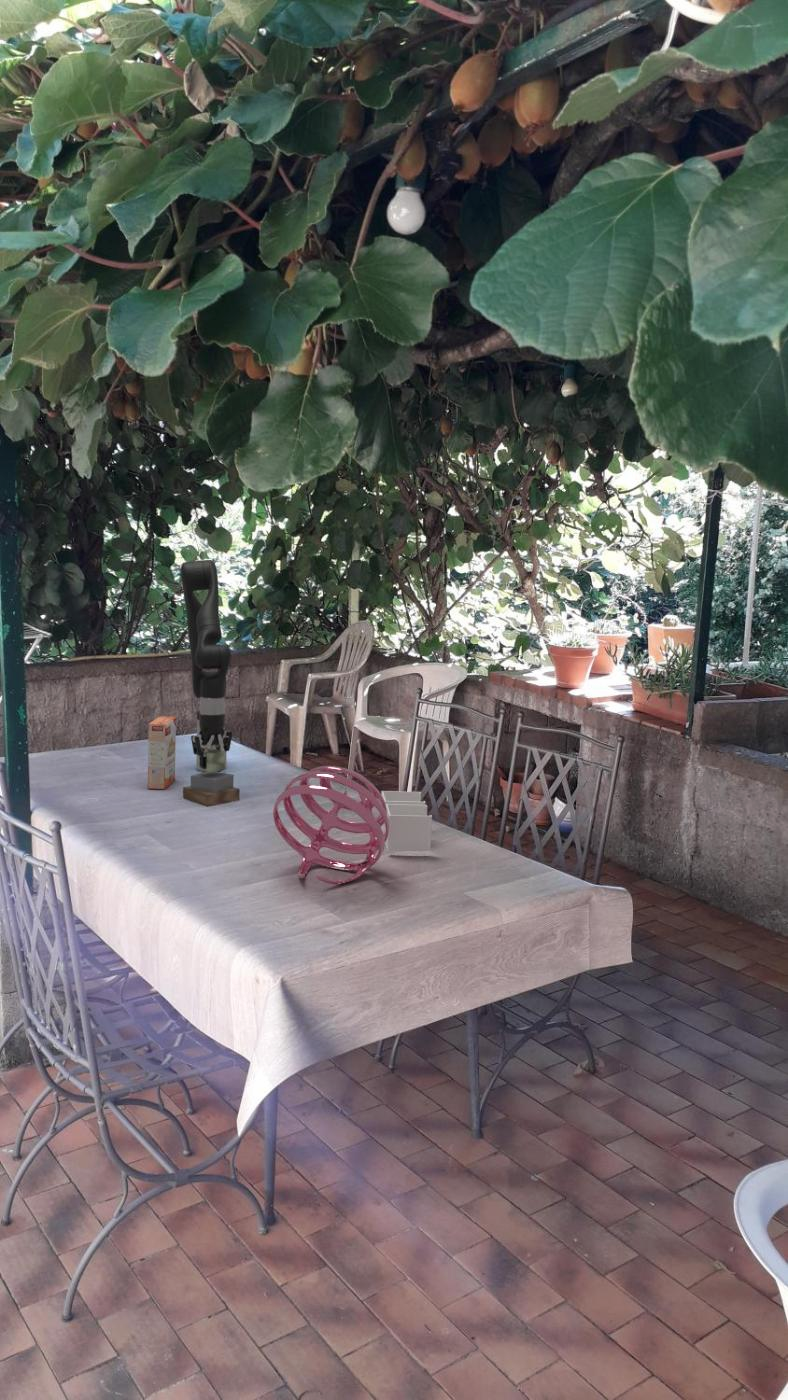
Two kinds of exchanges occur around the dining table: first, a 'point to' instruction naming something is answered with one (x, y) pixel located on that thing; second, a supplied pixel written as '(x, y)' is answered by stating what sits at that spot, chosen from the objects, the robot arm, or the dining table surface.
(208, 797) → the bottom slab
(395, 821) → the storage container
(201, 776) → the top slab
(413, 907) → the dining table surface
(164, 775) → the cracker box
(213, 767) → the green cube
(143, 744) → the dining table surface
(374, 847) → the spiral basket
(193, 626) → the robot arm
